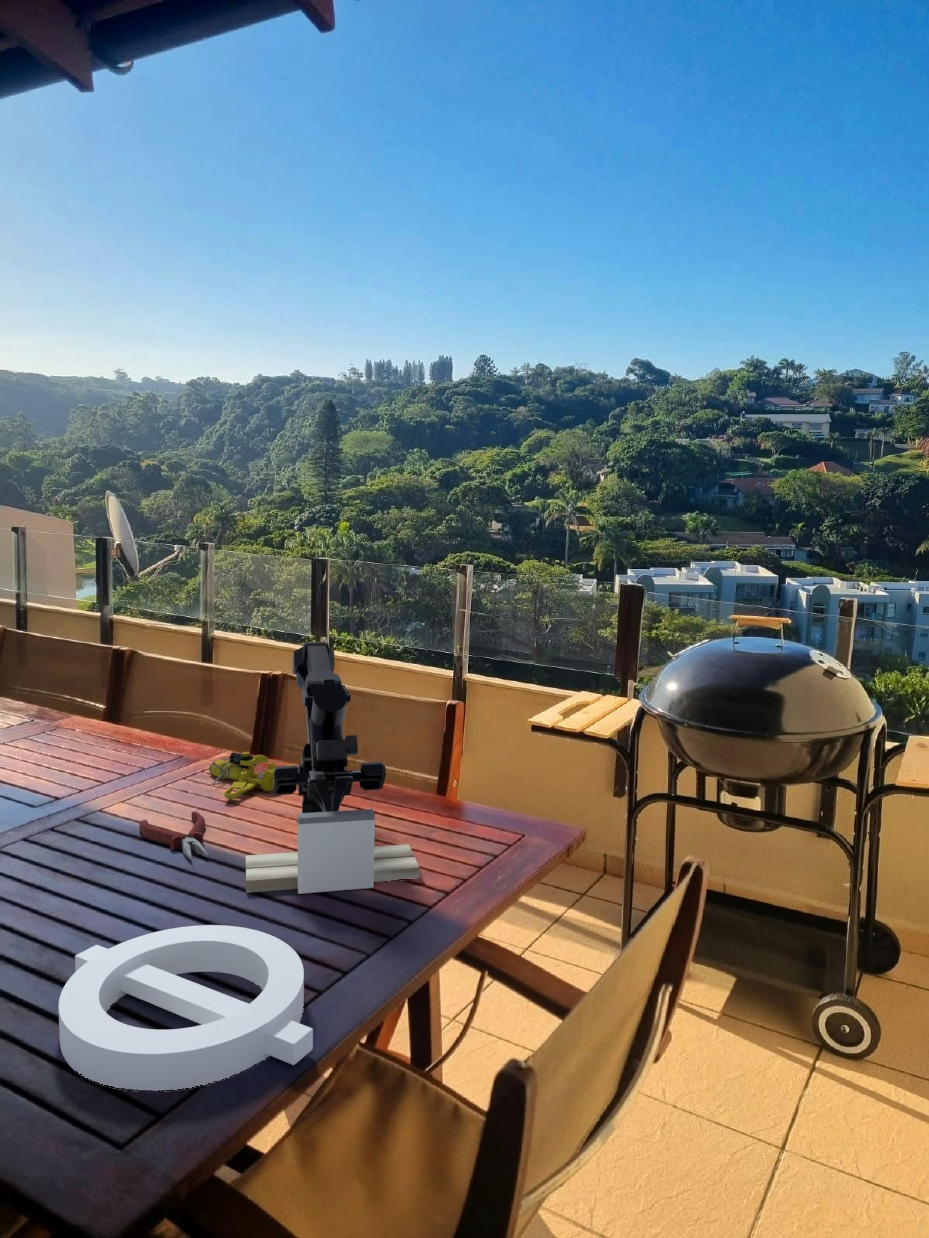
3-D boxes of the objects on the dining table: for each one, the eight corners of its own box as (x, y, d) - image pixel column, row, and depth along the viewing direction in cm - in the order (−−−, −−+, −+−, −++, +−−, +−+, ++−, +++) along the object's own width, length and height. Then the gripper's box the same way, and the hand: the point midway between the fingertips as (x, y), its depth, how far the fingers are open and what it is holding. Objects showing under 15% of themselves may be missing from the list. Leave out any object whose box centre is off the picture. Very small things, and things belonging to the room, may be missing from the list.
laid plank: (245, 866, 149) (245, 854, 149) (408, 854, 156) (408, 843, 156) (246, 892, 140) (246, 879, 139) (419, 878, 146) (419, 866, 146)
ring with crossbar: (316, 1071, 98) (317, 1032, 97) (40, 1115, 90) (38, 1072, 89) (291, 947, 124) (292, 915, 124) (77, 971, 116) (76, 938, 116)
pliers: (166, 871, 147) (165, 856, 147) (137, 831, 164) (137, 818, 164) (233, 858, 154) (232, 844, 153) (198, 821, 170) (198, 808, 170)
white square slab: (297, 887, 141) (297, 813, 140) (371, 882, 144) (372, 809, 142) (298, 893, 139) (298, 818, 138) (373, 887, 142) (374, 813, 140)
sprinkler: (238, 736, 203) (301, 749, 192) (240, 767, 204) (303, 782, 193) (170, 759, 187) (234, 774, 176) (173, 793, 188) (236, 810, 177)
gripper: (274, 720, 146) (276, 807, 137) (385, 716, 151) (394, 800, 142) (272, 752, 155) (274, 835, 146) (377, 747, 159) (386, 828, 150)
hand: (332, 824), depth 146 cm, fingers closed
